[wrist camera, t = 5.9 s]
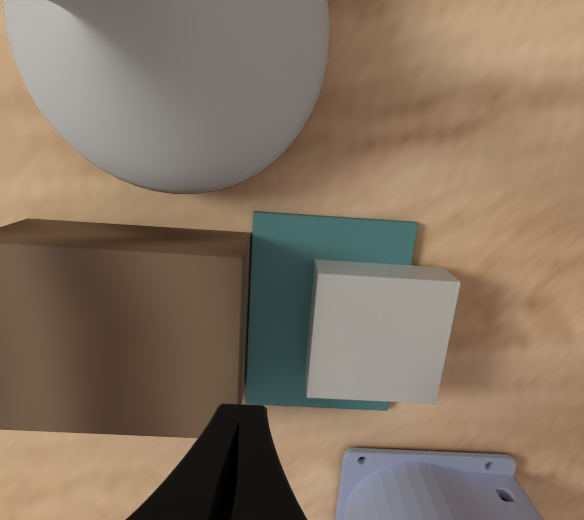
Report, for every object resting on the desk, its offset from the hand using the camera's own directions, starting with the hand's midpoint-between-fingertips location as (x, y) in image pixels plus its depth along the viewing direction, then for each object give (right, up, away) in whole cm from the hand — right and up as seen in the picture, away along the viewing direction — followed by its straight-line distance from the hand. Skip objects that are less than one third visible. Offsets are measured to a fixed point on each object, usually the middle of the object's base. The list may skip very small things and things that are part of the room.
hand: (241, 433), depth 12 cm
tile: (+5, +1, +6) cm, 8 cm away
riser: (-6, +3, +8) cm, 10 cm away
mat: (+3, +2, +8) cm, 9 cm away
